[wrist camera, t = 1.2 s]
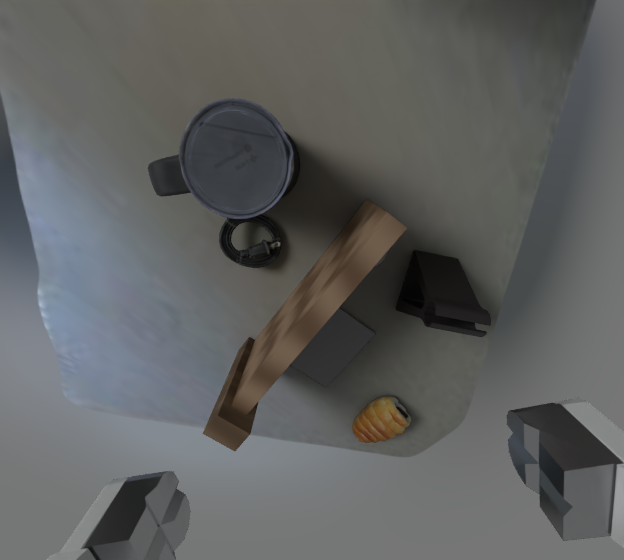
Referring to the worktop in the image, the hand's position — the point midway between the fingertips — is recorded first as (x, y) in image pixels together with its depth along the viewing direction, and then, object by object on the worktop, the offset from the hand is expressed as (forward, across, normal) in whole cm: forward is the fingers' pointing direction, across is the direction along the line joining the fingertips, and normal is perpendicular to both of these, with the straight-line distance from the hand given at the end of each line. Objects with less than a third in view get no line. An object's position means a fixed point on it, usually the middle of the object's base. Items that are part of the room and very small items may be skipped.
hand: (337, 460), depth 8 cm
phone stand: (+36, -12, +11) cm, 40 cm away
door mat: (+36, +4, +17) cm, 40 cm away
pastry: (+37, -3, +32) cm, 49 cm away
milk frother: (+36, +7, -5) cm, 37 cm away
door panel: (+36, +4, +8) cm, 37 cm away
